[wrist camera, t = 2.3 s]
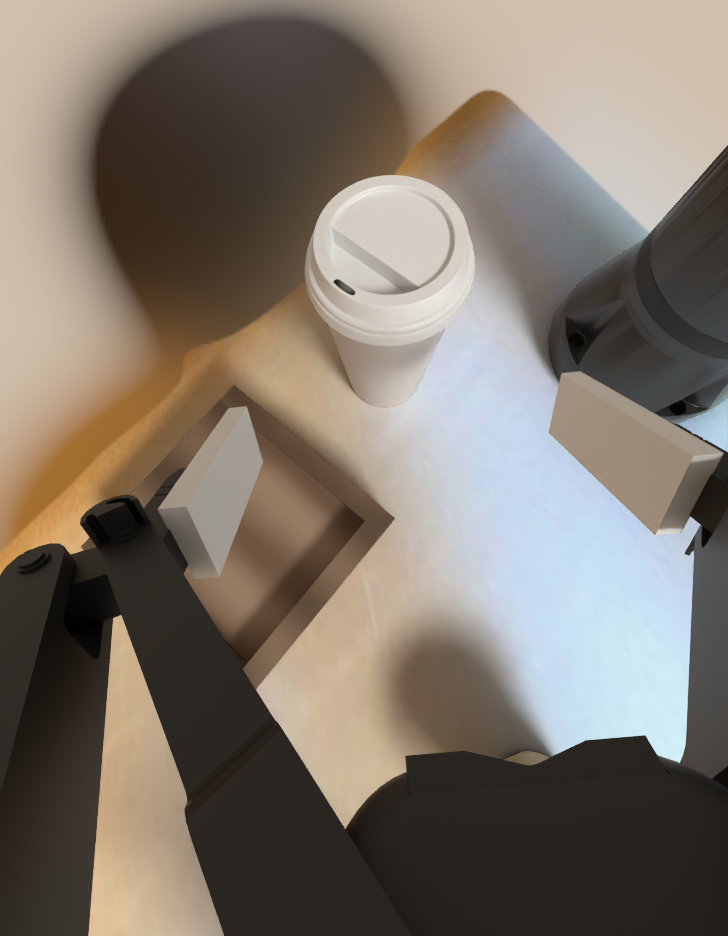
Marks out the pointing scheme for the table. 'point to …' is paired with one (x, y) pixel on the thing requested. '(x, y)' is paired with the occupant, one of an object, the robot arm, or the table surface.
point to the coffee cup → (389, 280)
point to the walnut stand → (277, 539)
